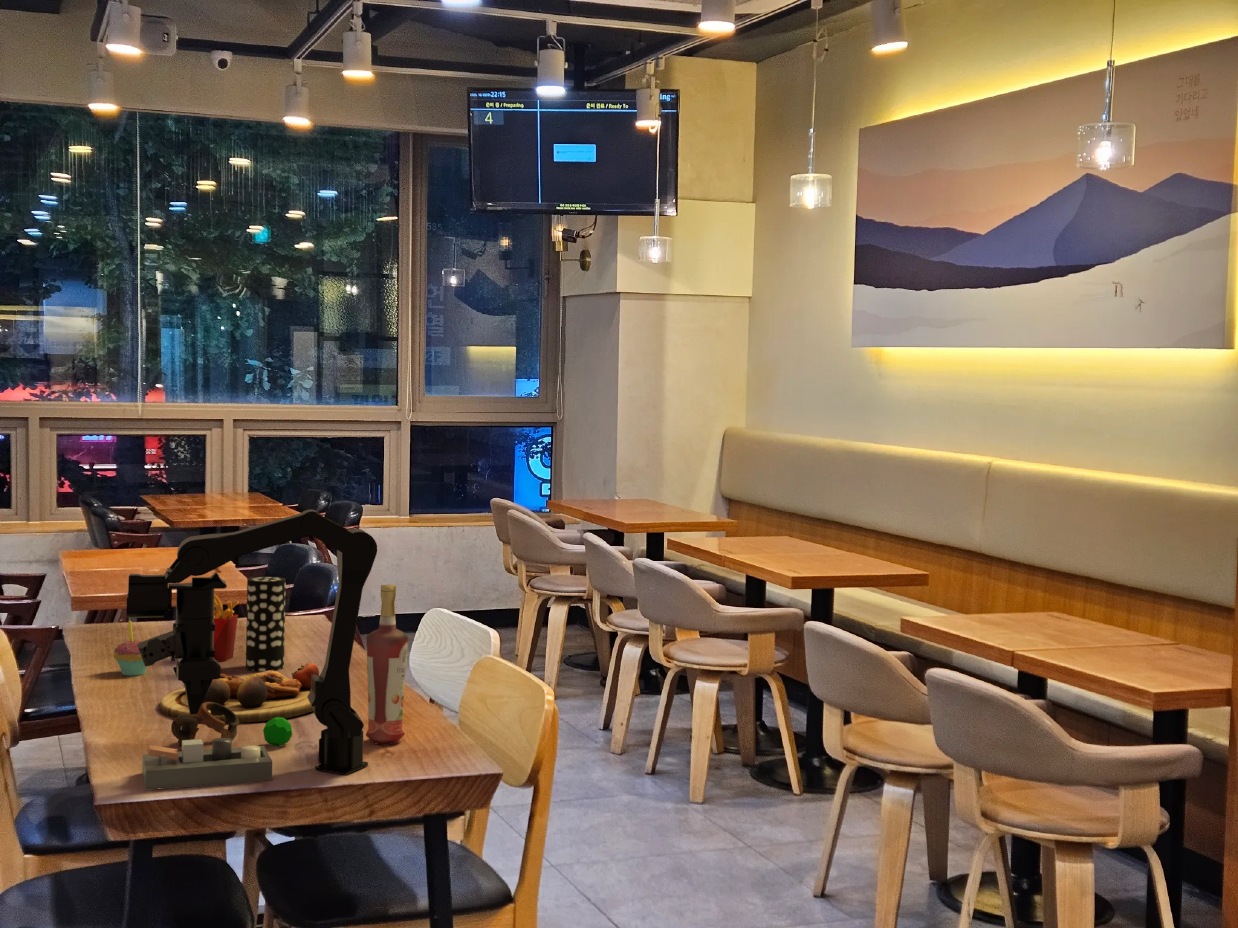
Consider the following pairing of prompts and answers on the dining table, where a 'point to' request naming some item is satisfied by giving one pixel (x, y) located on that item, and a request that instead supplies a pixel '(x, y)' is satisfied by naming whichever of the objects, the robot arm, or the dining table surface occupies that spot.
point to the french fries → (224, 630)
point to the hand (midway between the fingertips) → (193, 713)
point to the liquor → (386, 674)
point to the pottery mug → (205, 722)
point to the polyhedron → (277, 731)
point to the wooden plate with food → (252, 695)
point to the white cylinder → (250, 752)
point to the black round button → (221, 749)
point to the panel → (205, 770)
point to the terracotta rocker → (163, 752)
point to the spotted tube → (265, 623)
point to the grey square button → (192, 751)
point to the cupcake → (130, 656)
